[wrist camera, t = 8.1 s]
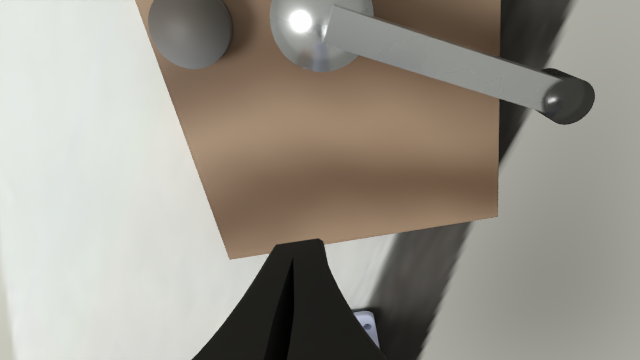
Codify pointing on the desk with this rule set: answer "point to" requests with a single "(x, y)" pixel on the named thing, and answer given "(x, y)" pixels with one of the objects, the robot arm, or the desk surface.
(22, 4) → the desk surface
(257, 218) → the brown flat board
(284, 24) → the door lever handle
